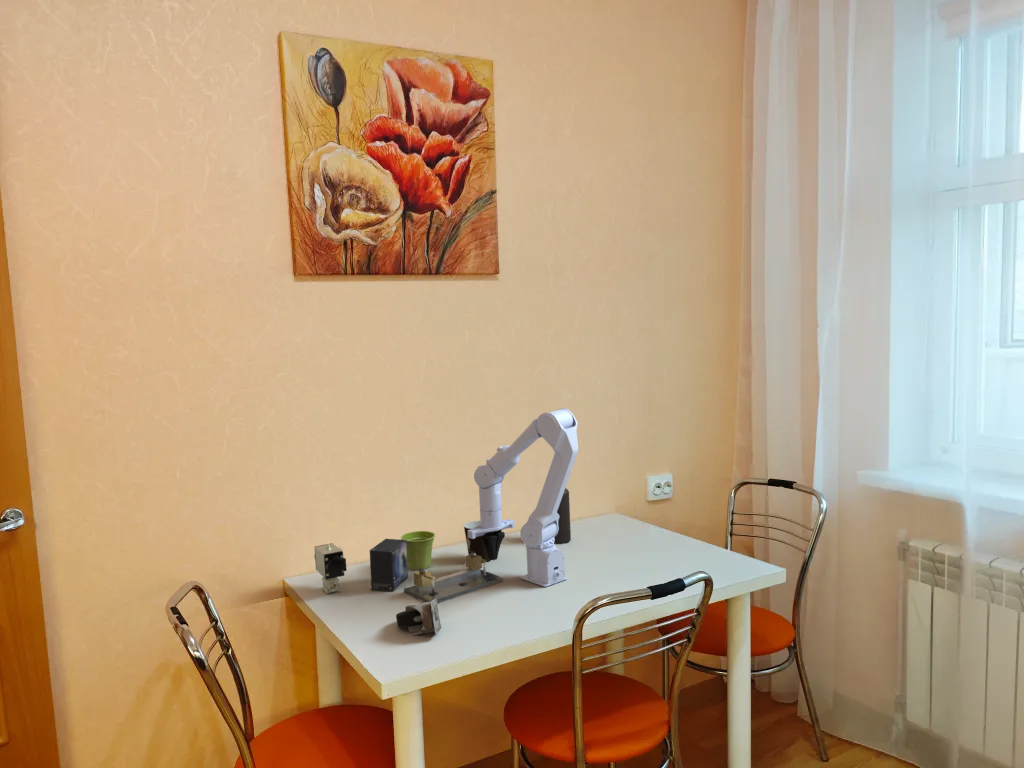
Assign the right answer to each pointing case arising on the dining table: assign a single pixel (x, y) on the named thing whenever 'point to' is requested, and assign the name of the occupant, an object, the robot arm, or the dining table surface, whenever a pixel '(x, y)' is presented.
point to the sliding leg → (475, 562)
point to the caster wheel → (420, 618)
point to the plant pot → (419, 548)
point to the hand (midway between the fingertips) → (492, 559)
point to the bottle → (564, 520)
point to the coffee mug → (475, 542)
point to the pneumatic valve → (330, 565)
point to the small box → (388, 564)
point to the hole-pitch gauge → (449, 584)
